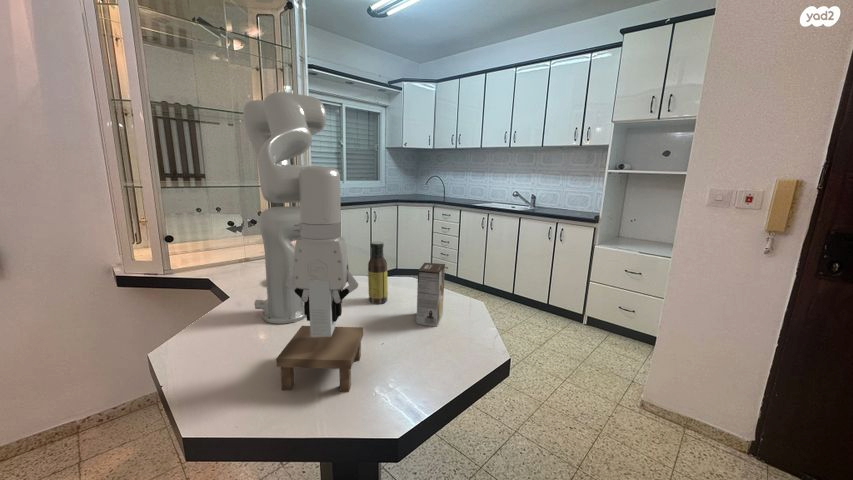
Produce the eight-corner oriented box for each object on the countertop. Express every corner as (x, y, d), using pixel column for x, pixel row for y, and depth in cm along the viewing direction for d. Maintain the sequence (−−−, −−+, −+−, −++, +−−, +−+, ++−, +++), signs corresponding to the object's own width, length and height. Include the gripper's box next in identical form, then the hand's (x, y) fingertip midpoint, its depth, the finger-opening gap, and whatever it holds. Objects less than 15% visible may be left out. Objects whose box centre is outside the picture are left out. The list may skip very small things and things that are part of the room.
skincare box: (316, 324, 74) (315, 270, 72) (336, 324, 74) (335, 271, 72) (309, 337, 68) (307, 279, 66) (331, 337, 68) (330, 280, 66)
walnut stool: (278, 391, 66) (276, 358, 65) (303, 353, 80) (301, 325, 78) (351, 393, 66) (350, 360, 65) (363, 355, 80) (363, 327, 79)
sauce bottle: (381, 296, 118) (381, 239, 114) (391, 302, 113) (392, 243, 109) (364, 300, 114) (364, 241, 110) (374, 306, 109) (374, 245, 105)
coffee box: (422, 312, 106) (424, 261, 103) (443, 314, 105) (445, 263, 101) (415, 324, 97) (417, 270, 94) (438, 327, 96) (440, 272, 93)
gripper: (269, 233, 63) (274, 325, 67) (361, 236, 63) (361, 327, 67) (285, 226, 71) (289, 310, 74) (367, 229, 71) (367, 312, 74)
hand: (323, 317), depth 71 cm, fingers closed on skincare box, 4 cm apart
